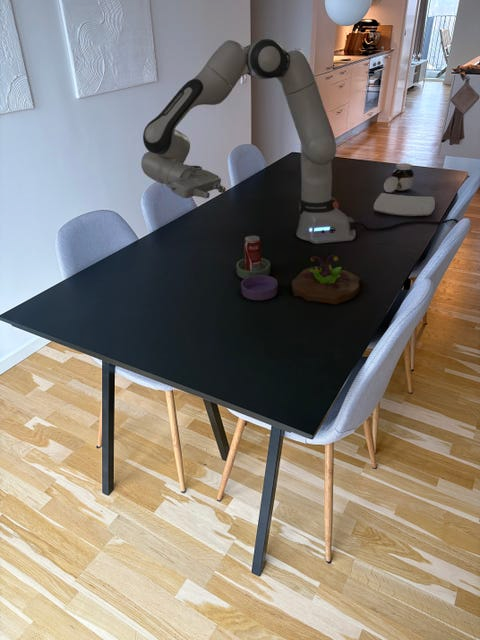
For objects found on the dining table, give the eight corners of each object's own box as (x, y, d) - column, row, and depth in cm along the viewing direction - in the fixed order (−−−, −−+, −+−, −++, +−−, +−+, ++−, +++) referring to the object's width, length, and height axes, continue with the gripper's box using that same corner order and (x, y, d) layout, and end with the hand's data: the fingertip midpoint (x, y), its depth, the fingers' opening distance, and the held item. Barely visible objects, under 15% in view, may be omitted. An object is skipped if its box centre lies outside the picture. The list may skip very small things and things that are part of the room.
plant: (344, 310, 135) (347, 274, 129) (282, 295, 144) (282, 261, 139) (368, 281, 149) (371, 248, 143) (310, 269, 159) (312, 237, 153)
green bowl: (270, 265, 162) (270, 256, 161) (269, 280, 153) (269, 271, 151) (238, 265, 163) (237, 257, 162) (235, 280, 154) (235, 271, 152)
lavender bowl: (277, 283, 151) (277, 274, 149) (277, 301, 141) (277, 291, 140) (242, 284, 152) (242, 275, 150) (240, 301, 142) (239, 291, 141)
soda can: (244, 269, 160) (243, 235, 154) (260, 268, 160) (259, 234, 154) (246, 276, 156) (244, 241, 149) (262, 274, 156) (261, 240, 150)
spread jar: (413, 189, 227) (417, 164, 220) (406, 195, 219) (410, 170, 212) (388, 186, 232) (391, 161, 226) (381, 192, 224) (384, 167, 218)
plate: (369, 215, 199) (370, 209, 197) (378, 197, 218) (379, 192, 216) (432, 221, 190) (433, 214, 189) (435, 202, 209) (436, 196, 208)
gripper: (164, 174, 150) (199, 189, 145) (201, 164, 165) (234, 178, 161) (161, 193, 153) (196, 209, 149) (198, 182, 169) (231, 196, 164)
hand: (216, 193), depth 155 cm, fingers open, 8 cm apart
